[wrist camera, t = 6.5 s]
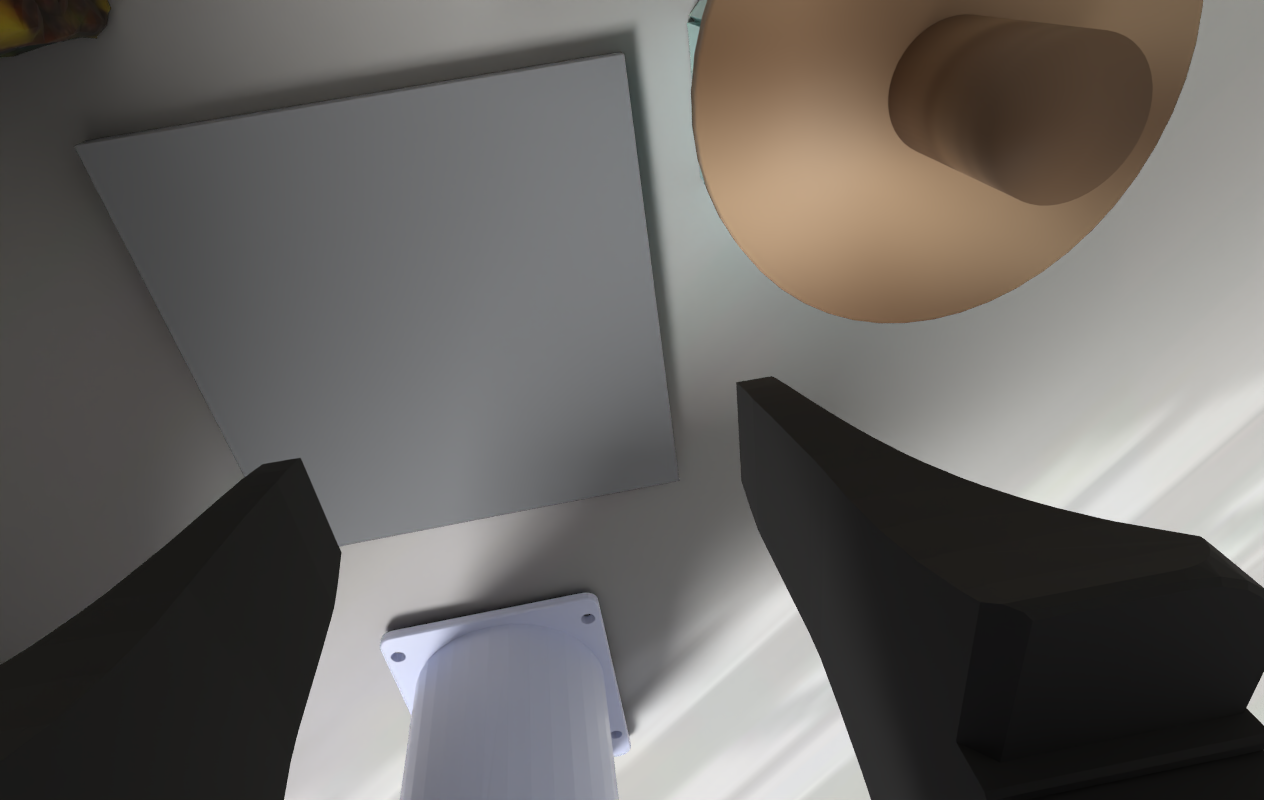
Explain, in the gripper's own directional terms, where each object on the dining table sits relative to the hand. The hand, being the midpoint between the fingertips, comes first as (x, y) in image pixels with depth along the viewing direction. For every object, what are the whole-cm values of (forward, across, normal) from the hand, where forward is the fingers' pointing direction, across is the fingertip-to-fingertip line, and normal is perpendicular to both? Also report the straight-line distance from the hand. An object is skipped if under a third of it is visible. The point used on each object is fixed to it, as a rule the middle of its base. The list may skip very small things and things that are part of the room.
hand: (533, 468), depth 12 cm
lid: (+7, -10, -4) cm, 12 cm away
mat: (+10, +3, +2) cm, 10 cm away
